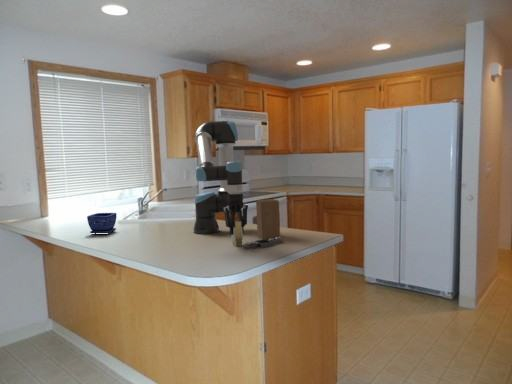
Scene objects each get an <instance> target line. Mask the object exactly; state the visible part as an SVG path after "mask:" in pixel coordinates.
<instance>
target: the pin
mask: <svg viewBox="0 0 512 384" xmlns="http://www.w3.org/2000/svg"><path fill="white" fill-rule="evenodd" d="M234 228H235V236H236V241H232V246H234V247H239V246H243V240H242V230H241V221H238V220H234Z"/></svg>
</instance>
